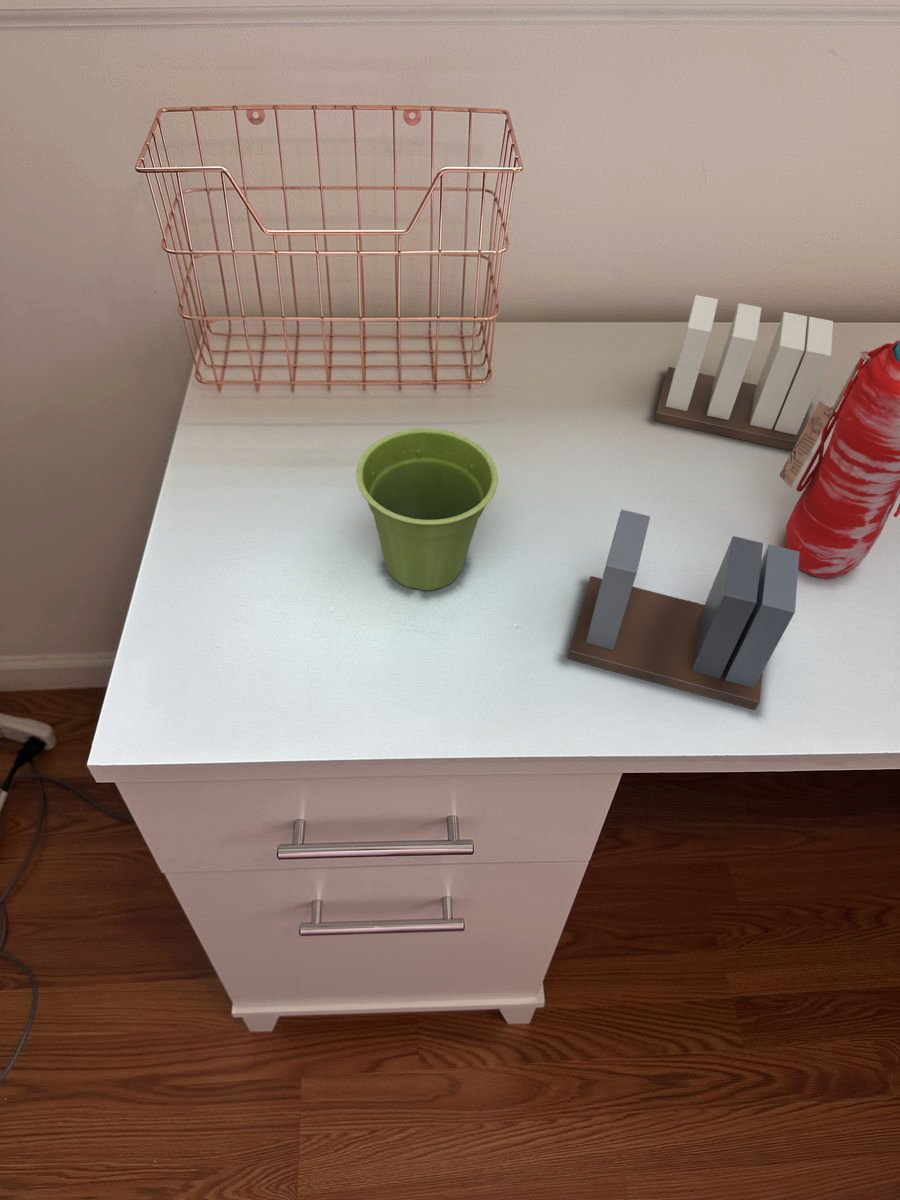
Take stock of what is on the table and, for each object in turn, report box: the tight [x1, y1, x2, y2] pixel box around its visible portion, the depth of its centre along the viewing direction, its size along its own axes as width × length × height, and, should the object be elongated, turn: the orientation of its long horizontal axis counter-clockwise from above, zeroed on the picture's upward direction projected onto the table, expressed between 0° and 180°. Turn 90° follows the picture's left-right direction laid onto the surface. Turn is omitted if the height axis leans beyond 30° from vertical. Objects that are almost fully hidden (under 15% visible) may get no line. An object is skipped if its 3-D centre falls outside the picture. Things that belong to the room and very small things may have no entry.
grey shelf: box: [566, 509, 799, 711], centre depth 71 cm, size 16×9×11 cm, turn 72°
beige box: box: [707, 302, 762, 420], centre depth 92 cm, size 2×6×10 cm, turn 162°
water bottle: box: [778, 339, 900, 579], centre depth 73 cm, size 12×8×25 cm, turn 33°
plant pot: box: [355, 427, 499, 591], centre depth 76 cm, size 12×12×11 cm
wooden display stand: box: [653, 294, 834, 452], centre depth 92 cm, size 16×9×11 cm, turn 72°
